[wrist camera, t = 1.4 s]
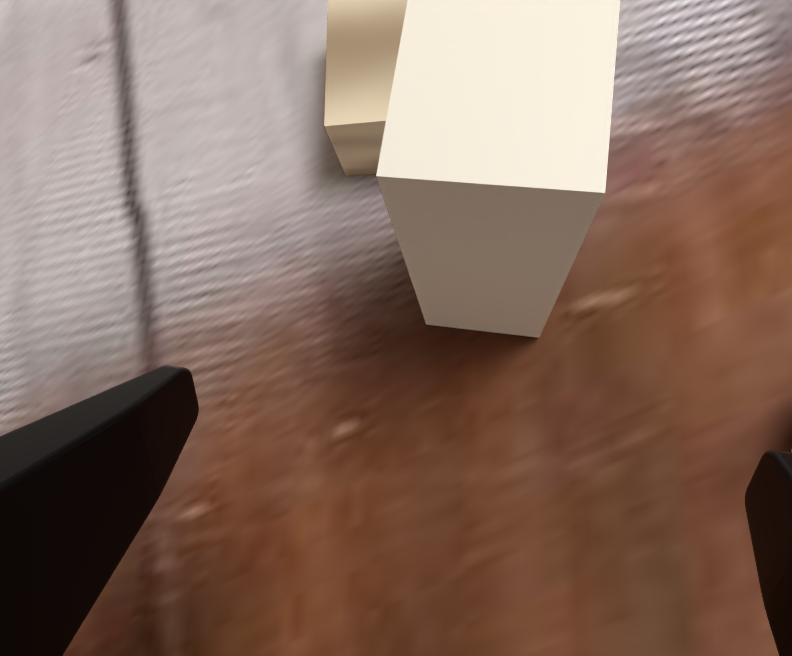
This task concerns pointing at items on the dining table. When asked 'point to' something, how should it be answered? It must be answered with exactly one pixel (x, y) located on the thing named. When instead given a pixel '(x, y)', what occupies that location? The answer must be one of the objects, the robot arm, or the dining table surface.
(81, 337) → the dining table surface
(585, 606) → the dining table surface
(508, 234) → the pillar
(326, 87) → the tan glossy block
